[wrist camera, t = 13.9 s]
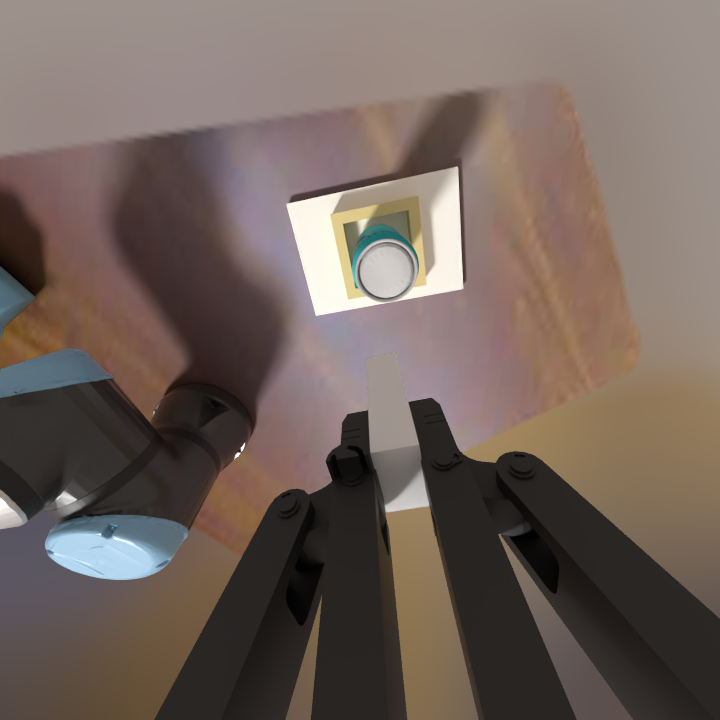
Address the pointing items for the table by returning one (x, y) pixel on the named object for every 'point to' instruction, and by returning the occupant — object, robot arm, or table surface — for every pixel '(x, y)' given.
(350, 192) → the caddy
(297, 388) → the table surface
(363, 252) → the beverage can
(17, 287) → the teapot
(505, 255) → the table surface
